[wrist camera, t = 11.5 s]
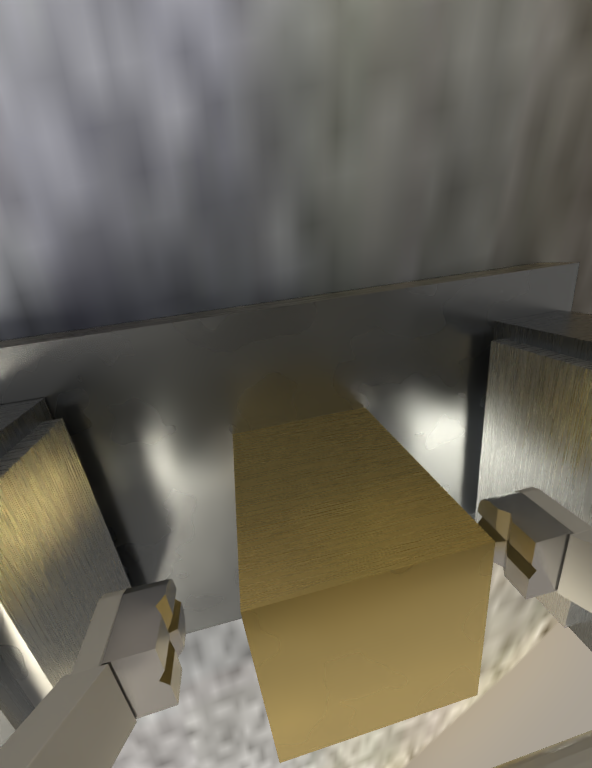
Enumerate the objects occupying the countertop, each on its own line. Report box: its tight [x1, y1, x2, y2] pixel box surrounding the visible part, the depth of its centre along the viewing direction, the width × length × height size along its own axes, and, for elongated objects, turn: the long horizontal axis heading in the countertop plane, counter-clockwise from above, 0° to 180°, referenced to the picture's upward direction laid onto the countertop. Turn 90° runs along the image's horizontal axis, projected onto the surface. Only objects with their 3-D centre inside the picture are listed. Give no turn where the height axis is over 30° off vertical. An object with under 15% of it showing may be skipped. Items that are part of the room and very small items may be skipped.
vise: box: [0, 262, 592, 651], centre depth 10 cm, size 12×25×6 cm, turn 97°
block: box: [232, 407, 495, 763], centre depth 9 cm, size 4×4×6 cm
